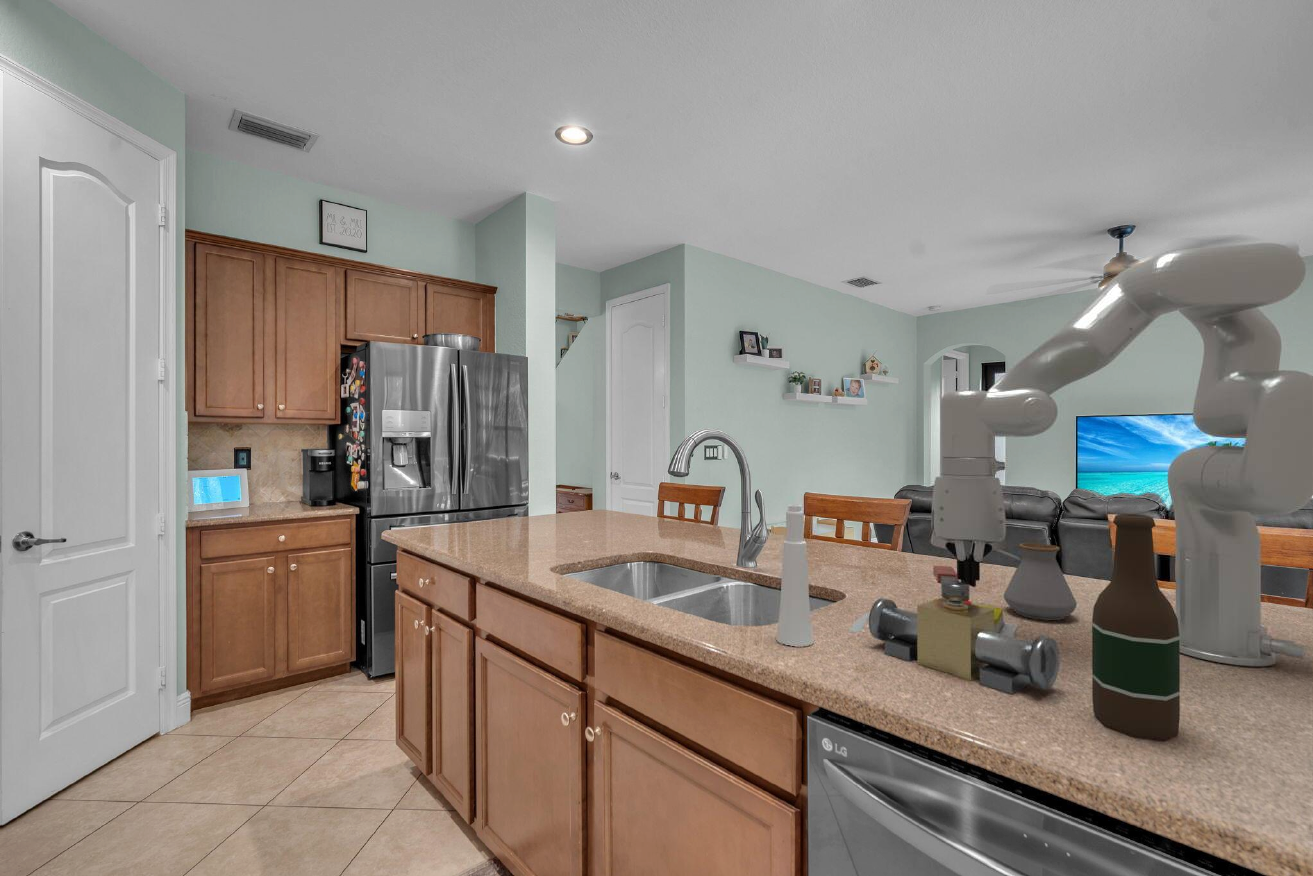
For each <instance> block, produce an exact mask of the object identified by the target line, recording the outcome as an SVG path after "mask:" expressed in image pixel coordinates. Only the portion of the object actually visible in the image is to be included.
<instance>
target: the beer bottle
mask: <svg viewBox="0 0 1313 876" xmlns="http://www.w3.org/2000/svg"><path fill="white" fill-rule="evenodd" d="M1112 524H1114V525H1115V527H1116V530H1115V541H1114V543H1115V544H1114V554H1113V555H1114V557H1113V565H1112V573H1111V578H1110V583H1108V584H1107V586H1105V588H1104V589H1103V590H1102V591H1101V592H1100V593H1099V595H1098V596H1097V599H1096V601H1095V603H1094V605H1093V609H1092V621H1091V633H1092V634H1091V637H1092V638H1091V642H1092V643H1091V648H1092V649H1091V652H1092V653H1091V658H1092V659H1091V666H1092V668H1091V669H1092V670H1091V671H1092V673H1091V675H1092V679H1091V681H1092V683H1091V684H1092V685H1091V686H1092V692H1091V693H1092V696H1091V697H1092V707H1093V708H1092V710H1093V714H1094V716H1095V717H1096V718H1097V719H1098V720H1099V721H1100V723H1101V724H1103V726H1104V727H1107V728H1109V729H1112V730H1114V731H1117V732H1119V733H1121V734H1124V735H1127V736H1130V737H1133V738H1140V739H1147V740H1154V741H1155V740H1156V741H1162V742H1165V741H1166V740H1169V739H1171V738H1173V737H1175V736H1177V734H1178V733H1179V730H1180V718H1181V717H1180V716H1181V715H1180V714H1181V709H1180V708H1181V706H1180V705H1181V704H1180V703H1181V698H1180V696H1181V695H1180V692H1181V691H1180V690H1181V689H1180V687H1181V685H1180V682H1181V681H1180V679H1181V678H1180V677H1181V676H1180V669H1181V668H1180V667H1181V666H1180V661H1181V660H1180V658H1181V657H1180V636H1179V626H1178V619H1177V616H1176V611H1175V610H1174V608H1173V606H1172V603H1171V602H1170V601H1169V600H1168V598H1167V597H1166V595H1164V593H1163V591H1161V590H1160V587H1159V583H1158V582H1159V581H1158V578H1157V575H1156V574H1157V572H1156V562H1155V561H1156V560H1155V550H1154V549H1155V548H1154V540H1153V539H1154V538H1153V528H1155V527H1156V523H1155V520H1154V517H1151V516H1149V515H1145V514H1139V513H1119V514H1117V515H1114V519H1113V522H1112Z"/></svg>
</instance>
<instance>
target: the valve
mask: <svg viewBox="0 0 1313 876" xmlns="http://www.w3.org/2000/svg"><path fill="white" fill-rule="evenodd" d="M936 599H937V600H934V599H933V600H931V601H928V602H924V603H921V604H918V605H917V612H914V611H909V610H906V609H902V608H898V606H897V604H896V603H895V601H893V600H891V599H887V598H883V597H882V598H881V597H880V598H878V599H877V600H875V601H874V603H873V605H872V607H871V608H870V611H869V613H870V614H869V616H868V629H869V633H870V634H871V636H872V637H873V638H874V639H876V640H880V641H883V642H884V654H885V655H887V654H888V656H892V657H894V656H895V657H894V658H897V659H900V658H901V660H903V661H908V662H912V661H914V660H916V659H917V665H919V666H922V667H927V668H929V669H933V670H936V671H938V670H939V671H938V672H941V673H945V674H948V675H951V676H954V677H958V678H960V679H963V680H967V681H970V682H971V681H974V680H975V679H978V678H979V685H983V686H985V687H988V688H991V689H994V690H998V691H1001V692H1003V693H1007V694H1009V695H1014V694H1015V693H1017V692H1018V691H1020V690H1022V689H1024V688H1025V687H1027V686H1029V685H1031V684H1032V685H1033V686H1034V687H1036V688H1039V689H1043V690H1046V691H1048V690H1050V689H1051V688H1052V687H1053V686H1054V684H1055V682H1056V680H1057V678H1058V674H1059V667H1060V650H1059V646H1058V643H1057V641H1056V640H1055V639H1054V638H1053V637H1047V636H1043V635H1039V636H1037V637H1035V639H1034V641H1031V640H1027V639H1023V638H1019V637H1015V636H1013V637H1011V636H1007V635H1003V634H999V633H995V632H994V609H990V608H985V607H981V606H976V605H972V604H973V603H972V604H967V603H963V601H954V600H948V599H945V598H943V597H940V598H936Z"/></svg>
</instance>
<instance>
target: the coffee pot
mask: <svg viewBox="0 0 1313 876" xmlns="http://www.w3.org/2000/svg"><path fill="white" fill-rule="evenodd" d="M968 542H969V543H971V544H972V541H968ZM1018 547H1020V548H1021V551H1022V557H1019V556H1016V555H1014V554H1012V553H1009V552H1007V551H1004V550H1003V549H1000V550H995V551H992V552H994V553H997V554H999V555H1001V556H1003V557H1006V558H1007V559H1009V560H1012V561H1014V562H1016V563H1018V565H1017V567H1016V569H1015V571H1014V573H1013V575H1012V577H1011V579H1010V582H1009V583H1008V585H1007V587H1006V589H1005V591H1004V593H1003V598H1004V601H1005V602H1006V604H1007V605H1008V606H1009V607H1010V608H1011V609H1013V610H1014V611H1016V612H1015V614H1017V613H1018V614H1017V615H1019V616H1021V615H1022V617H1025V618H1028V617H1029V619H1034V620H1039V619H1042V620H1041V621H1048V620H1057V621H1062V620H1061V619H1063V620H1064V619H1065V617H1067V616H1070V615H1071V614H1072V613H1073V612H1074V611H1075V610H1076V608H1077V601H1076V599H1075V596H1074V594H1073V593H1072V590H1071V588H1070V586H1069V584H1068V582H1067V579H1066V577H1065V576H1064V573H1063V572H1062V570H1061V567H1060V565H1059V563H1058V561H1057V559H1056V557H1057V553H1058V552H1059V551H1060V549H1061V548H1060V547H1059V546H1056V545H1052V544H1048V543H1047V544H1046V543H1037V542H1036V543H1035V542H1022V543H1019V545H1018Z"/></svg>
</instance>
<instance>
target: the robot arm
mask: <svg viewBox="0 0 1313 876" xmlns="http://www.w3.org/2000/svg"><path fill="white" fill-rule="evenodd" d="M1305 263H1306V262H1305V261H1304V259H1303V257H1302V256H1301V254H1299V253H1298V251H1296V250H1295V249H1293V248H1292V247H1289V246H1288V245H1283V244H1281V243H1275V242H1274V243H1272V242H1259V243H1247V244H1246V243H1245V244H1235V245H1234V244H1233V245H1221V246H1210V247H1209V246H1208V247H1206V246H1205V247H1197V248H1196V247H1195V248H1187V249H1178V250H1173V251H1169V252H1166V253H1163V254H1160V255H1157V256H1155V257H1153V258H1149V259H1147V260H1145V261H1143V262H1140V263H1138V264H1135V265H1133V266H1130V267H1128V268H1126V269H1124V270H1123V271H1121V272H1119V273H1118V274H1117V275H1116V276H1114V277H1113V278H1111V280H1110V281H1109V282H1107V284H1106V285H1104V287H1103V288H1102V289H1101V290H1100V291H1098V293H1096V294H1095V295H1094V296H1093V297H1092V298H1091V299H1090V300H1089V302H1088V303H1086V304H1085V305H1084V306H1083V307H1082V308H1081V309H1080V310H1079V311H1078V312H1077V313H1076V314H1075V315H1074V316H1073V317H1072V318H1071V319H1070V320H1069V321H1068V322H1067V323H1066V324H1065V325H1063V327H1062V328H1061V329H1060V330H1058V331H1057V332H1056V333H1055V334H1053V335H1052V336H1051V337H1049V338H1047V339H1046V340H1045V341H1044V342H1042V344H1041V345H1039V346H1038V347H1036V348H1035V349H1034V350H1033V351H1032V352H1030V353H1029V354H1028V355H1027V356H1025V357H1023V358H1022V359H1021V360H1019V362H1017V363H1016V364H1015V365H1013V366H1012V367H1011V368H1010V369H1009V370H1008V371H1006V372H1005V373H1004V374H1003V375H1002V376H1001V377H1000V378H999V379H997V381H996V382H994V384H993V385H992V386H990V388H989V389H988V390H987V391H986V390H979V389H978V390H977V389H976V390H972V389H971V390H956V391H949V392H947V393H945V394H944V395H943V396H942V398H941V399H940V476H936V477H935V480H934V483H933V489H932V490H933V491H932V499H931V521H930V524H931V525H930V526H931V532H932V534H931V539H930V544H931V545H932V546H934V547H937V548H940V549H944V550H948V552H950V553H951V554H952V556H954V557H955V558H956V573H957V575H958V581H959V580H960V582H964V583H967V584H969V587H972V588H976V587H977V582H979V581H980V580H981V579H980V577H981V576H980V575H981V571H980V570H981V569H980V568H981V566H980V565H981V564H980V562H982V561H983V559H984V558H985V557H986V556H987V555H988V554H990V553H991V552H993V551H995V550H1005V549H1006V548H1008V544H1007V541H1006V533H1007V520H1006V510H1005V501H1004V495H1003V488H1002V484H1001V481H1000V478H999V477H996V476H995V475H997V472H999V471H1005V469H1006V463H1005V461H999V460H997V458H996V457H995V437H997V438H998V437H1001V438H1003V437H1004V438H1005V437H1006V438H1007V437H1010V438H1011V437H1014V438H1020V437H1022V438H1024V437H1025V438H1027V437H1033V436H1037V435H1041V434H1042V433H1044V432H1046V431H1047V430H1049V429H1050V428H1051V427H1052V426H1053V425H1054V423H1055V422H1056V420H1057V418H1058V414H1059V413H1058V406H1057V403H1056V401H1055V400H1054V398H1053V397H1052V396H1051V395H1052V394H1054V393H1055V392H1056V391H1059V390H1060V389H1062V388H1064V387H1066V386H1067V385H1070V384H1071V383H1074V382H1076V381H1079V380H1082V379H1084V378H1086V377H1088V376H1091V375H1092V374H1094V373H1096V372H1098V371H1100V370H1101V369H1103V368H1105V367H1106V366H1108V365H1109V364H1111V363H1112V362H1113V361H1115V359H1116V358H1117V357H1119V355H1120V354H1121V353H1122V352H1123V351H1124V350H1125V349H1126V348H1127V347H1128V346H1129V345H1130V344H1131V343H1132V342H1133V341H1134V340H1135V339H1136V338H1137V337H1138V336H1140V334H1142V332H1144V331H1145V329H1147V328H1148V327H1149V326H1150V325H1151V324H1152V323H1153V322H1155V320H1156V319H1158V318H1159V317H1161V316H1162V315H1166V314H1169V313H1173V312H1177V311H1178V312H1179V313H1180V314H1181V315H1182V316H1183V317H1184V318H1186V320H1188V321H1189V322H1190V323H1191V324H1192V325H1193V326H1194V327H1195V328H1196V330H1197V331H1198V333H1199V334H1200V337H1201V339H1202V343H1203V355H1202V357H1203V359H1202V362H1201V363H1202V364H1201V369H1200V373H1199V379H1198V383H1197V389H1196V394H1195V398H1194V401H1193V409H1192V420H1193V424H1194V425H1195V427H1196V428H1197V429H1198V430H1200V431H1201V432H1202V433H1204V434H1205V435H1209V436H1210V437H1211V436H1212V437H1214V438H1215V437H1217V438H1223V439H1224V438H1225V439H1227V438H1228V439H1245V441H1244V445H1243V446H1241V445H1204V446H1198V447H1193V448H1189V449H1187V450H1185V451H1183V452H1181V453H1179V455H1177V456H1176V457H1175V458H1174V459H1173V460H1172V461H1171V463H1170V465H1169V467H1168V470H1167V478H1166V479H1167V487H1168V491H1169V494H1170V498H1171V499H1170V500H1171V504H1172V508H1173V514H1174V523H1175V614H1176V616H1177V619H1178V626H1179V636H1180V653H1181V654H1184V655H1187V656H1190V657H1193V658H1198V659H1201V660H1206V661H1208V662H1209V661H1210V662H1216V663H1220V664H1221V663H1222V664H1227V665H1234V666H1243V667H1268V666H1272V665H1275V664H1276V662H1277V655H1276V654H1280V655H1283V656H1286V657H1290V658H1295V659H1300V660H1305V659H1306V657H1305V656H1306V647H1305V646H1306V645H1304V644H1300V643H1296V641H1293V640H1288V639H1280V638H1274V637H1273V636H1272V635H1270V634H1268V626H1267V627H1266V626H1262V615H1261V614H1262V613H1261V612H1262V610H1261V608H1262V607H1261V605H1262V604H1261V602H1262V601H1261V599H1262V597H1261V595H1262V594H1261V591H1262V590H1261V589H1262V588H1261V587H1262V584H1261V583H1262V582H1261V580H1262V577H1261V574H1262V571H1261V566H1262V565H1261V562H1262V559H1261V557H1262V556H1261V555H1262V542H1261V535H1260V532H1259V529H1258V527H1257V524H1256V522H1255V518H1253V515H1252V514H1257V515H1268V516H1282V515H1283V516H1284V515H1289V514H1291V513H1295V512H1297V511H1299V510H1300V509H1302V508H1304V506H1306V505H1307V504H1308V503H1309V502H1310V500H1311V499H1312V498H1313V375H1312V374H1309V373H1307V372H1302V371H1299V370H1287V369H1286V370H1279V369H1280V364H1281V363H1280V362H1281V354H1282V338H1281V335H1280V333H1279V331H1278V329H1277V327H1276V326H1275V324H1274V323H1273V322H1272V320H1271V319H1269V317H1267V316H1266V314H1265V313H1264V312H1263V311H1262V310H1261V309H1260V308H1261V307H1264V306H1268V305H1273V304H1276V303H1279V302H1281V301H1283V300H1286V299H1288V298H1289V297H1290V296H1292V295H1293V294H1294V293H1295V292H1296V291H1297V290H1298V289H1299V288H1300V287H1301V285H1302V283H1303V282H1304V280H1305V277H1306V272H1307V269H1306V264H1305ZM969 541H972V543H971V549H970V553H969V554H968V556H967V555H966V552H965V551H966V550H965V544H964V542H969Z"/></svg>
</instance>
